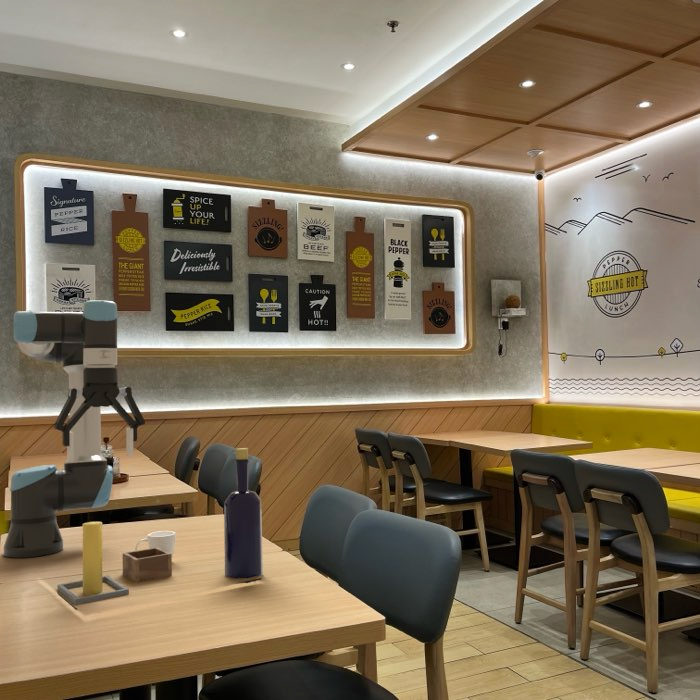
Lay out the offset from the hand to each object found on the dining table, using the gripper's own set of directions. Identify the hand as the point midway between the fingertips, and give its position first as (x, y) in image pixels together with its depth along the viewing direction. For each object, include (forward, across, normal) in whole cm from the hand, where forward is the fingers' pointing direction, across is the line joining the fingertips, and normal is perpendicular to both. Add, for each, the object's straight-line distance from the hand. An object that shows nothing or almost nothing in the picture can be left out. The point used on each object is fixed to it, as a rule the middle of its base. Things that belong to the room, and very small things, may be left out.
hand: (100, 458), depth 162 cm
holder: (+29, +9, -4) cm, 30 cm away
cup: (+29, +15, +6) cm, 33 cm away
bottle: (+29, +27, -18) cm, 44 cm away
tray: (+28, -5, -10) cm, 30 cm away
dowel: (+28, -5, -10) cm, 30 cm away
